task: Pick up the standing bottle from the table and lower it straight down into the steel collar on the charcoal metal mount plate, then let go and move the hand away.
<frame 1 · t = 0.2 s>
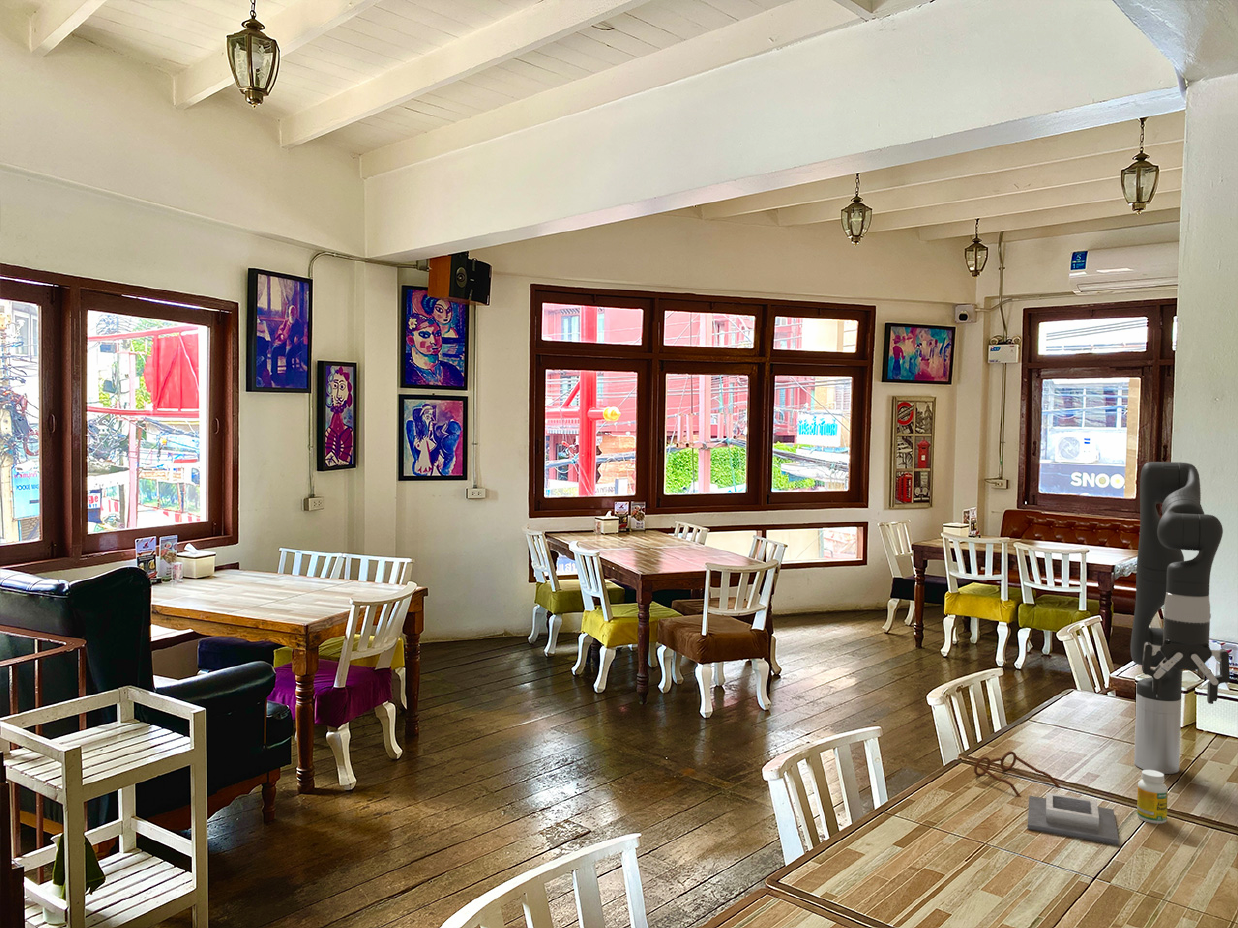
hand: (1183, 699, 175), 28 cm above the table, tool pointing down, fingers open, 8 cm apart
supplement bottle: (1151, 819, 186), on the table
glasses: (1016, 784, 205), on the table
mount: (1071, 821, 184), on the table
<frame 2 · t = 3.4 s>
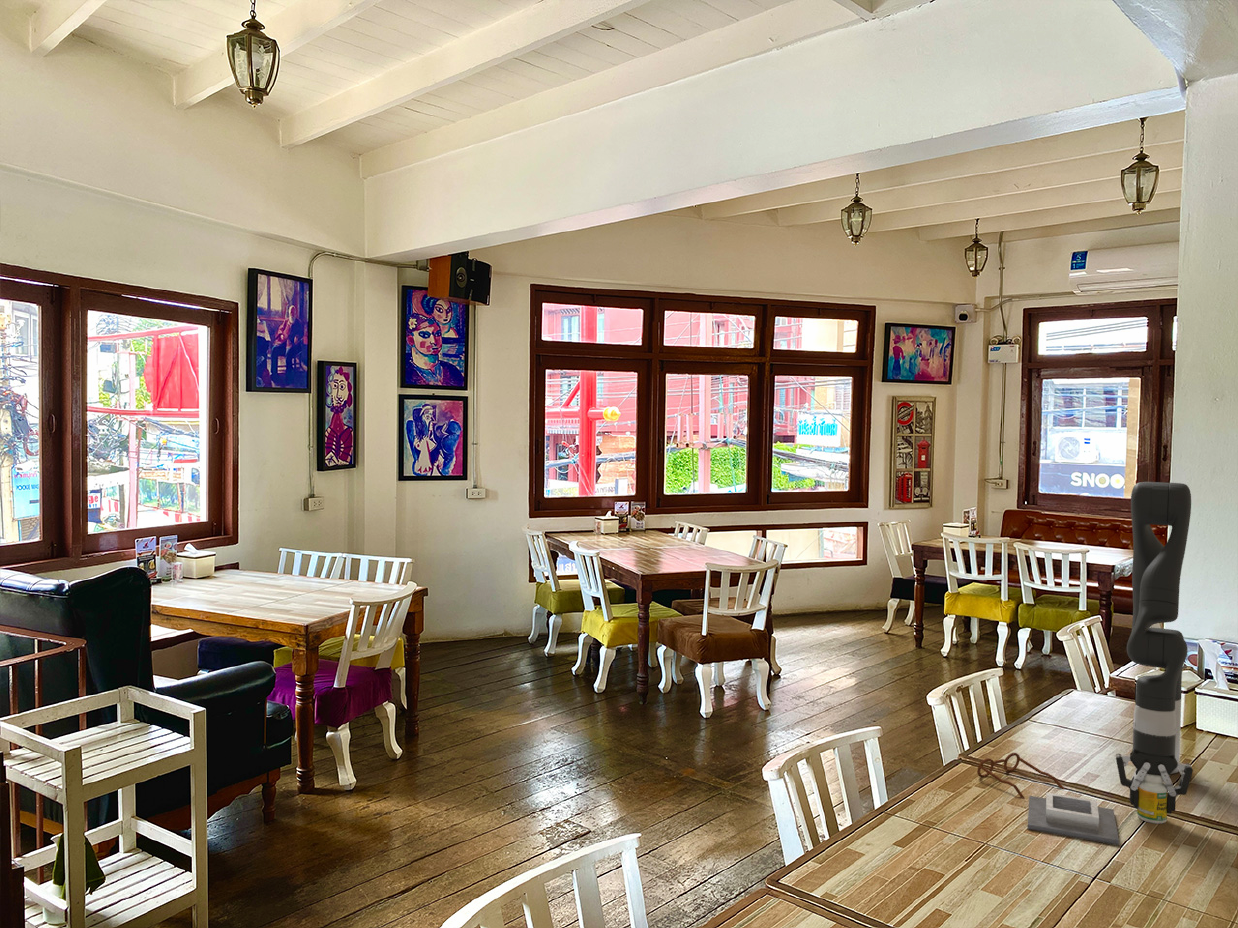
hand: (1151, 809, 186), 2 cm above the table, tool pointing down, fingers closed on supplement bottle, 5 cm apart
supplement bottle: (1151, 819, 186), on the table, touching gripper
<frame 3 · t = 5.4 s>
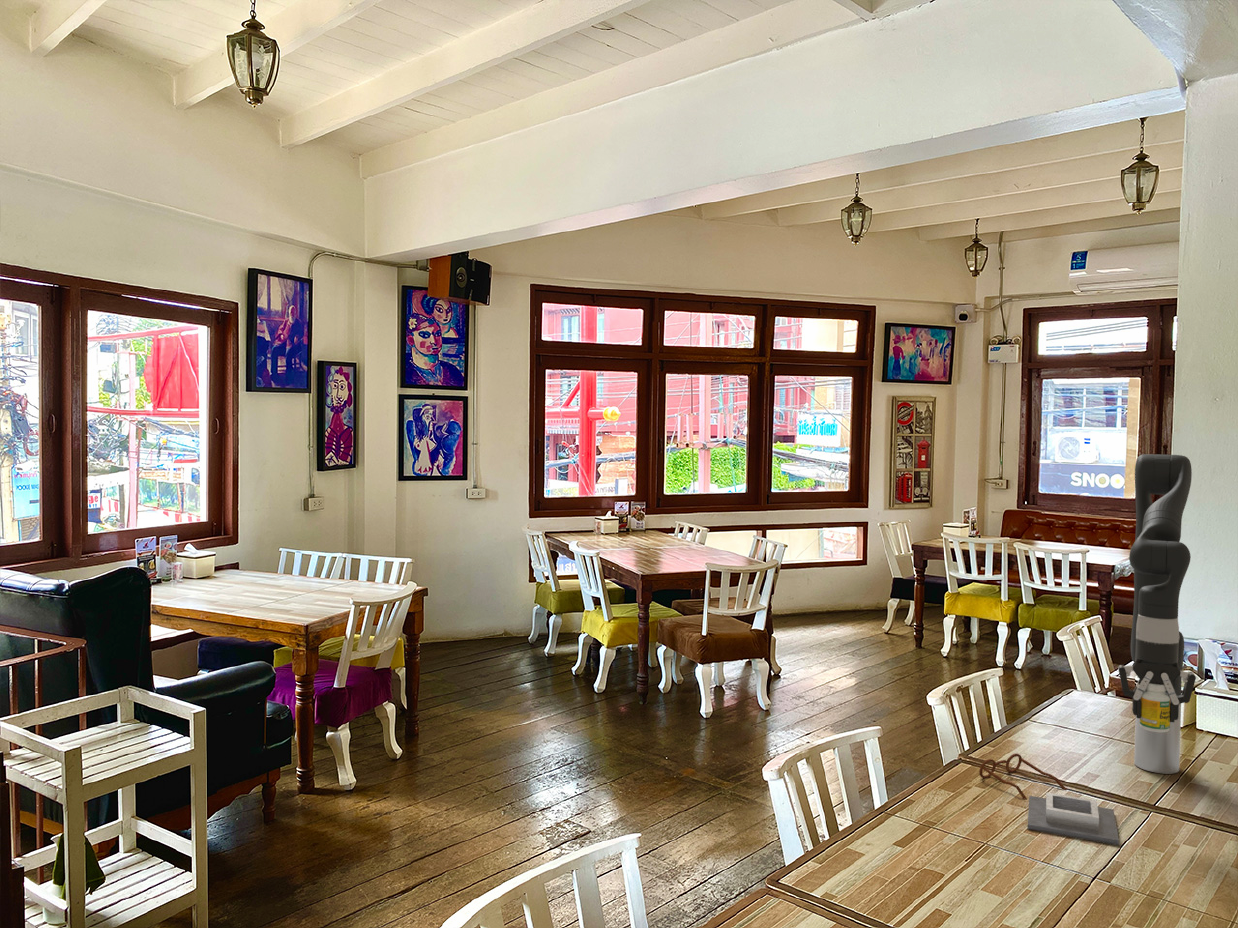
hand: (1154, 718, 185), 21 cm above the table, tool pointing down, fingers closed on supplement bottle, 5 cm apart
supplement bottle: (1154, 729, 185), point 19 cm above the table, touching gripper
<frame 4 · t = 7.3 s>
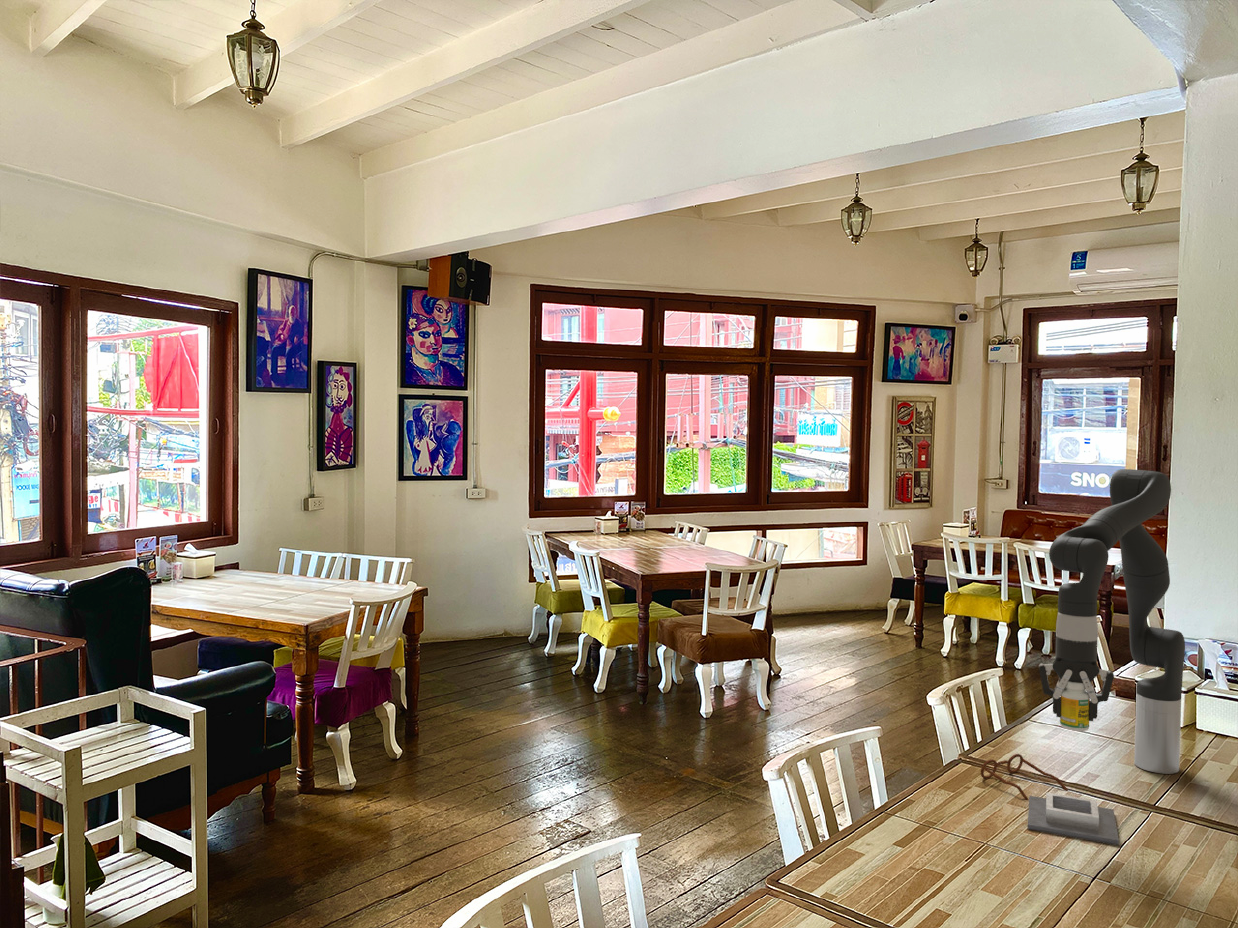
hand: (1074, 717, 184), 21 cm above the table, tool pointing down, fingers closed on supplement bottle, 5 cm apart
supplement bottle: (1074, 728, 184), point 19 cm above the table, touching gripper
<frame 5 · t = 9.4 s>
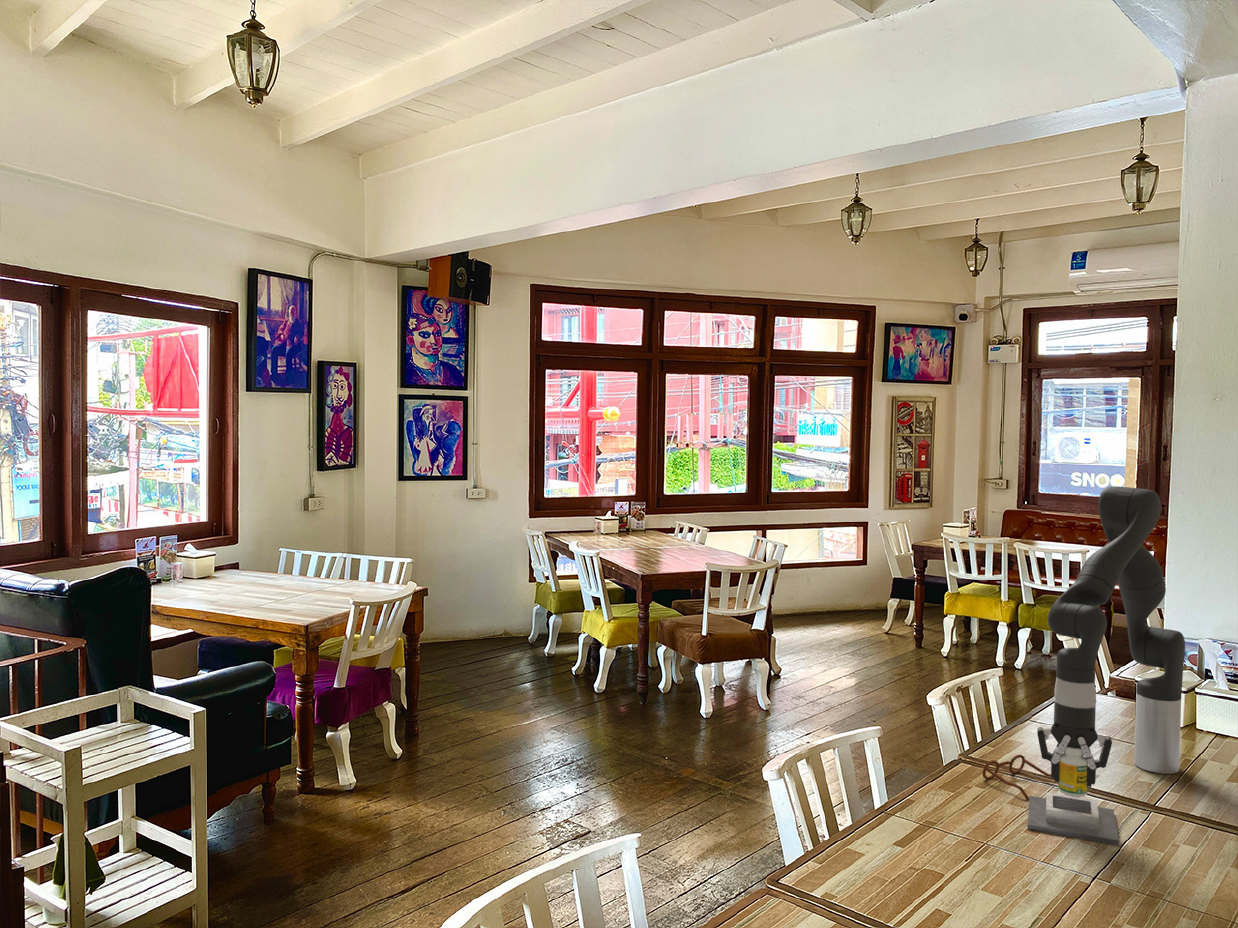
hand: (1072, 782, 184), 8 cm above the table, tool pointing down, fingers closed on supplement bottle, 5 cm apart
supplement bottle: (1072, 793, 184), point 6 cm above the table, touching gripper
when the fingers open (4 cm above the table, at t = 11.2 s): supplement bottle drops 1 cm, resting on mount.
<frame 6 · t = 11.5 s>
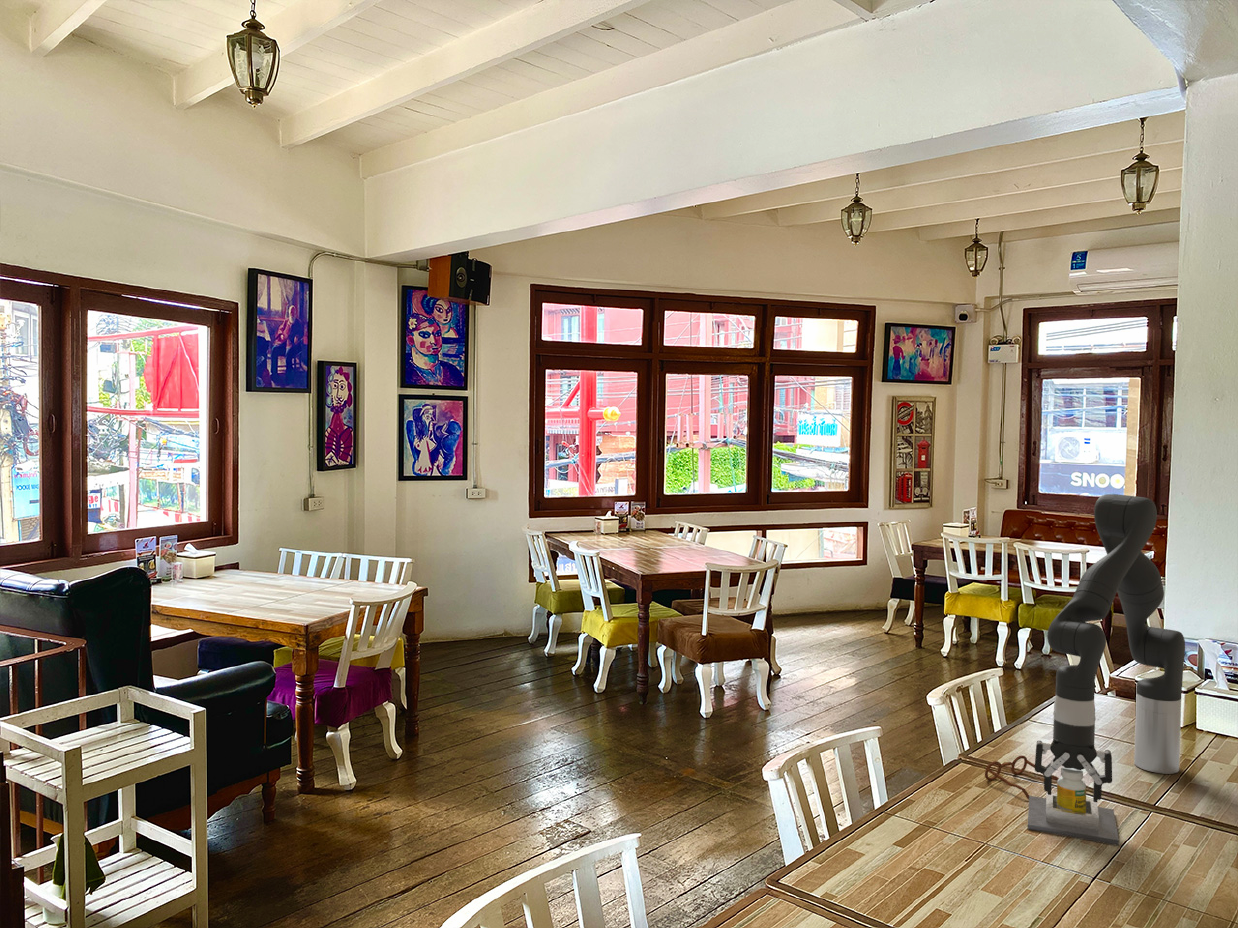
hand: (1072, 797, 184), 5 cm above the table, tool pointing down, fingers open, 8 cm apart
supplement bottle: (1070, 817, 184), point 1 cm above the table, touching mount
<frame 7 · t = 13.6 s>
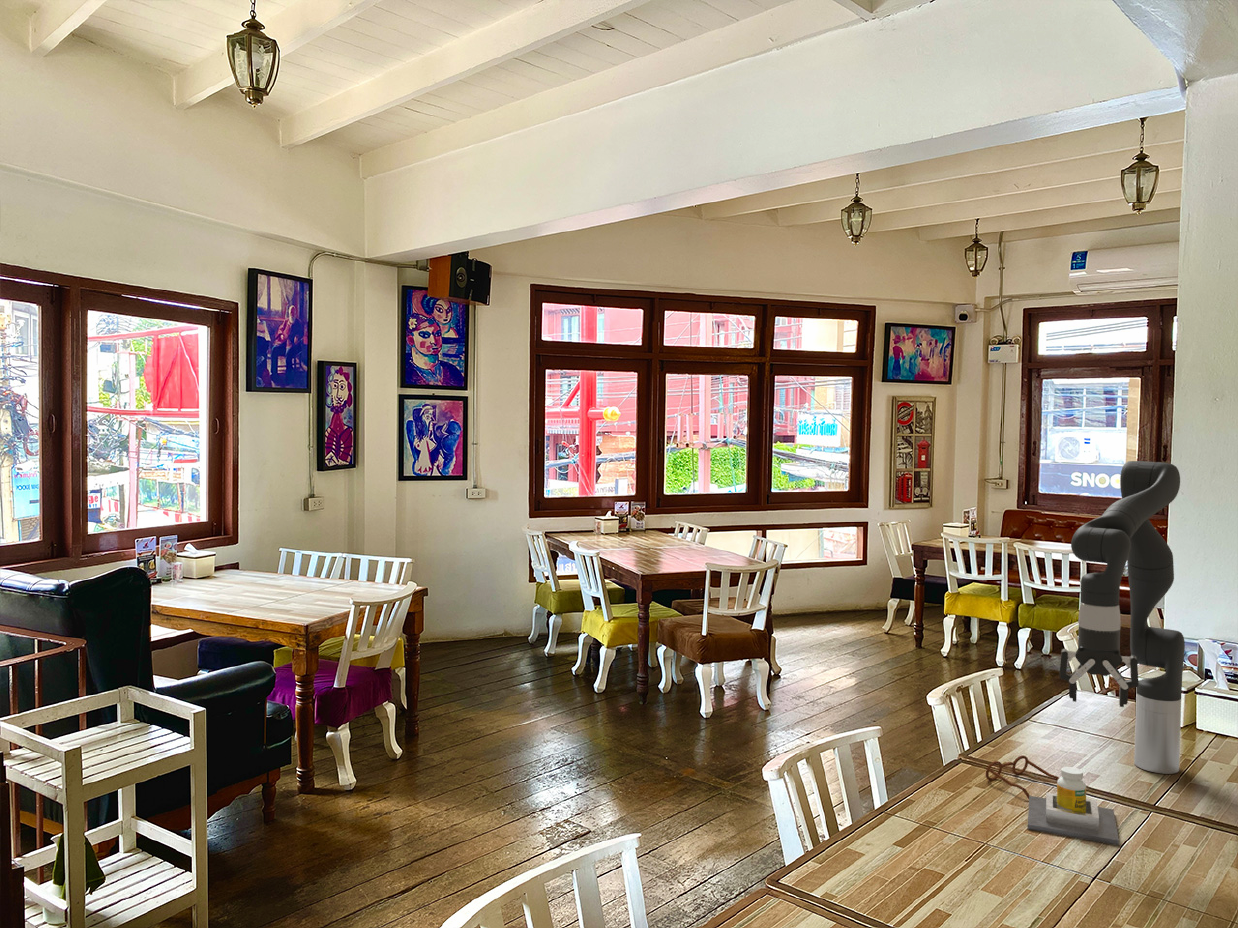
hand: (1097, 703, 185), 24 cm above the table, tool pointing down, fingers open, 8 cm apart
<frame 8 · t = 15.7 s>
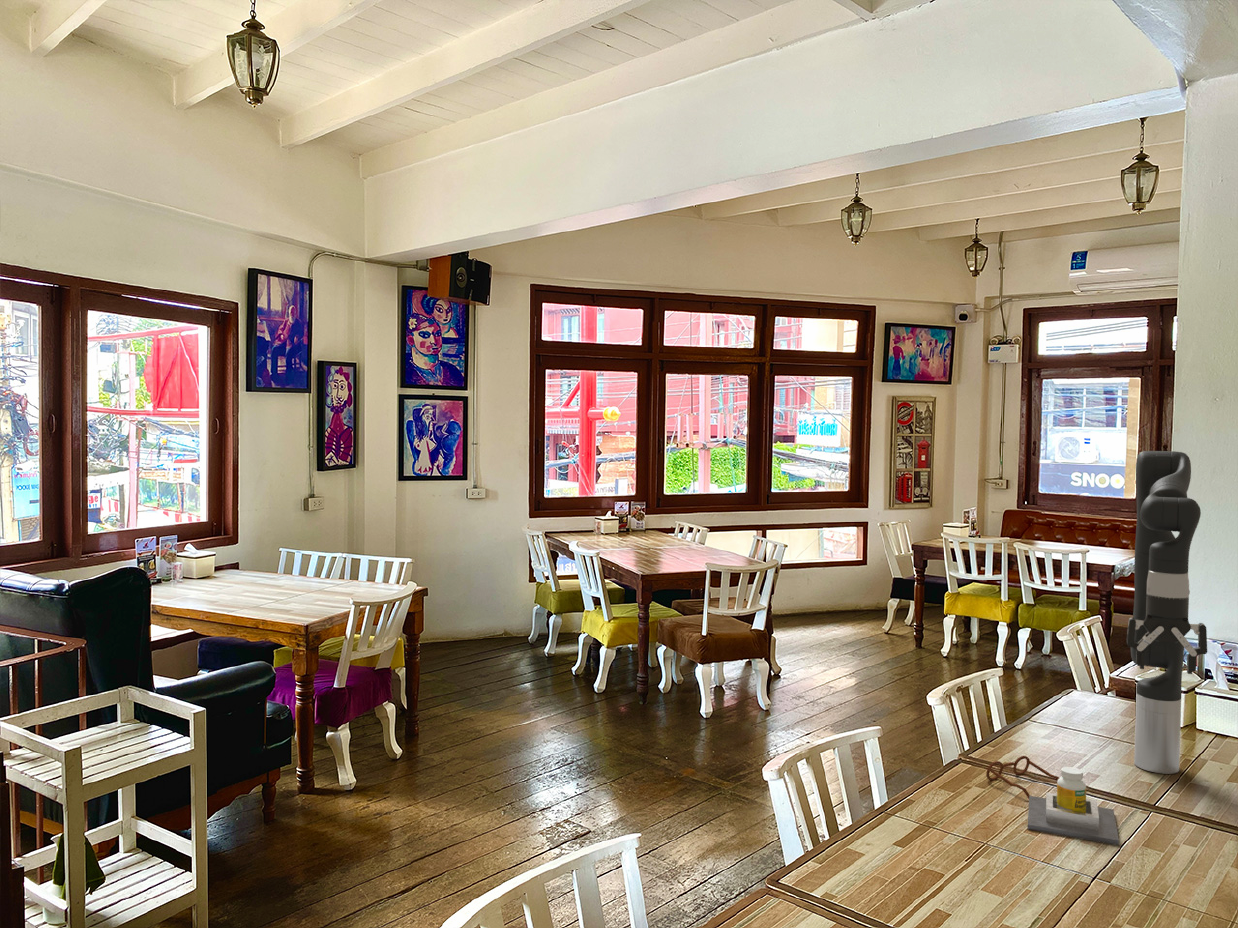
hand: (1165, 670, 188), 30 cm above the table, tool pointing down, fingers open, 8 cm apart
at the end: supplement bottle 0.1 cm off-centre on the mount, point 0.8 cm above the mount's base; supplement bottle tilted 0°; the gripper is holding nothing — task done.
